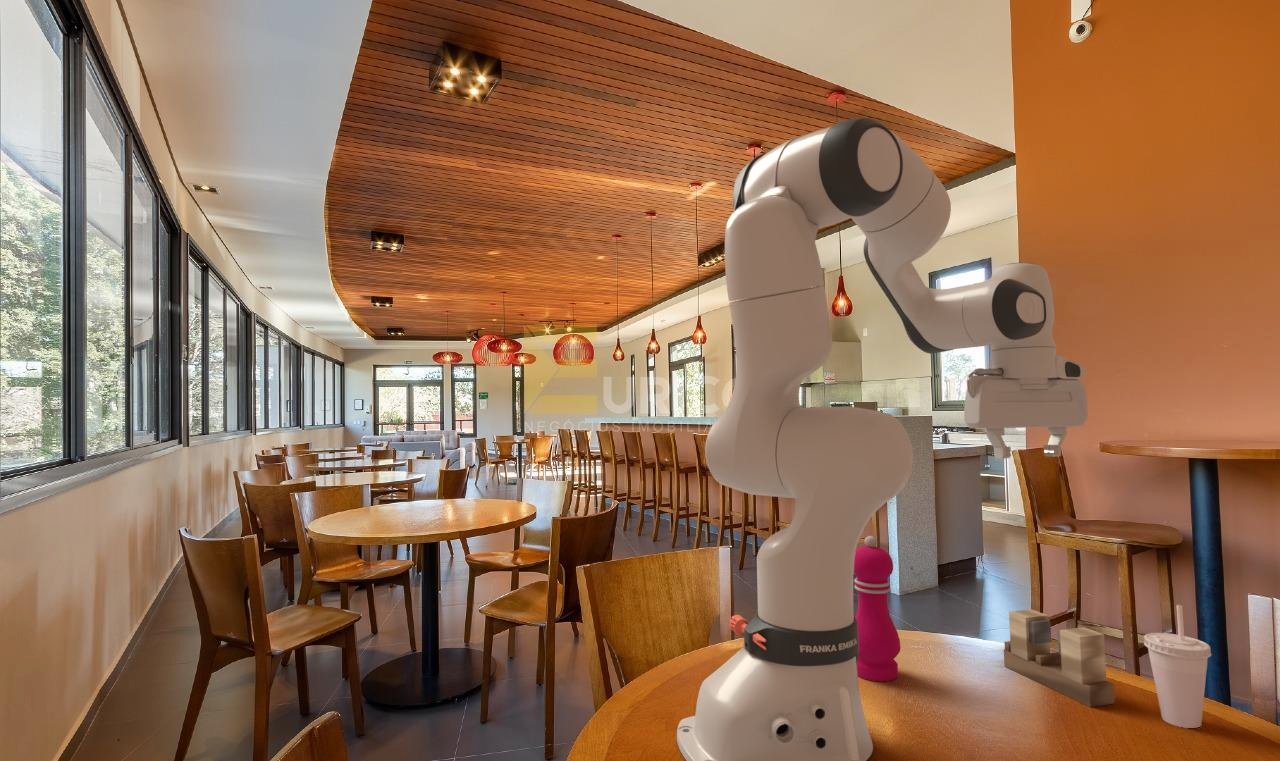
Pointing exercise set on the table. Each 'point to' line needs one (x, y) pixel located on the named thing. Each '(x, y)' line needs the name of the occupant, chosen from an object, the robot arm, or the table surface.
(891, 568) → the pepper mill
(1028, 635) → the grey-banded wooden block
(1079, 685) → the rail
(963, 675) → the table surface
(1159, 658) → the smoothie
